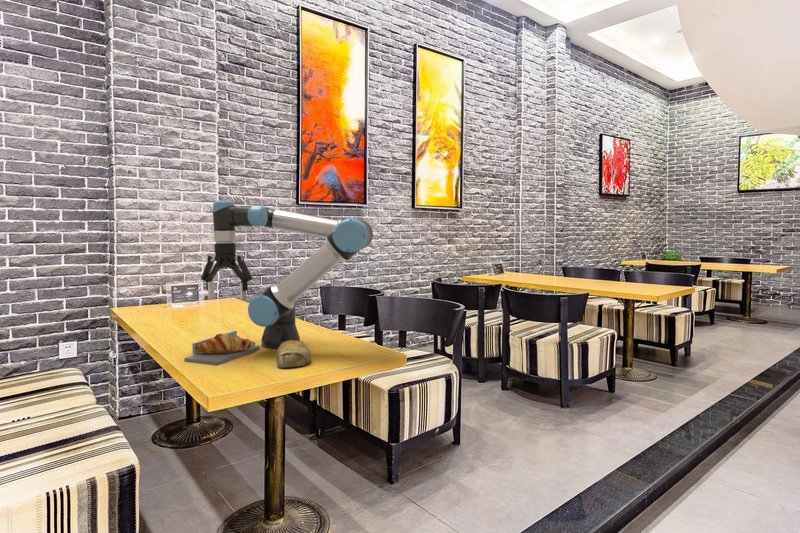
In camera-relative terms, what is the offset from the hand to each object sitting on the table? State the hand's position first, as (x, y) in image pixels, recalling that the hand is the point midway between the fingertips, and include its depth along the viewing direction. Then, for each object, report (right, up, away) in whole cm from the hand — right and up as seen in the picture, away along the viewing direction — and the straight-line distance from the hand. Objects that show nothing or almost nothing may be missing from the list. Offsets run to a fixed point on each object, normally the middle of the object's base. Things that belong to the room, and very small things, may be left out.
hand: (227, 299), depth 185 cm
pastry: (+28, -22, -15) cm, 38 cm away
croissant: (+1, -19, -4) cm, 20 cm away
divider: (-7, -19, +8) cm, 22 cm away
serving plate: (0, -20, -4) cm, 21 cm away
